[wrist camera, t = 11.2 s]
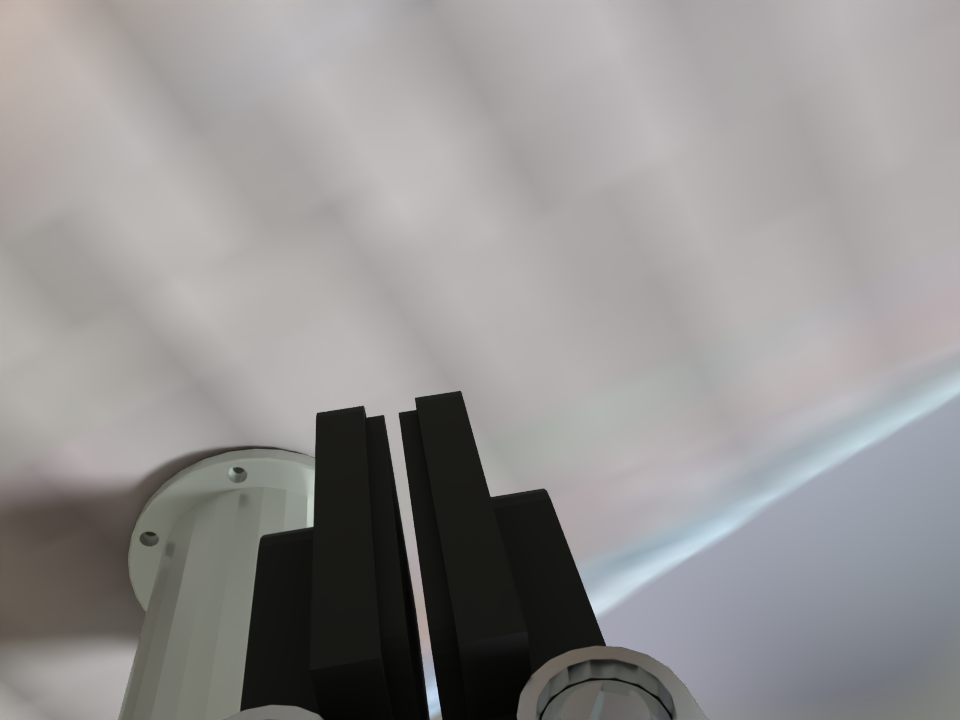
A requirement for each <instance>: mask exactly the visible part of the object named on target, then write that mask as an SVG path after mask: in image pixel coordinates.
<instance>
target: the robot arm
mask: <svg viewBox="0 0 960 720" xmlns="http://www.w3.org/2000/svg"><path fill="white" fill-rule="evenodd" d="M415 402H416V409H417V410H413V411H407V412H401V413H399V419H400V426H401V433H402V441H403V448H404V455H405V462H406V469H407V477H408V484H409V491H410V498H411V506H412V513H413V520H414V527H415V534H416V542H417V549H418V556H419V563H420V571H421V578H422V585H423V592H424V599H425V607H426V614H427V621H428V628H429V635H430V642H431V649H432V655H433V662H434V669H435V675H436V682H437V688H438V694H439V701H440V707H441V713H442V720H709V719H708V718H707V717H706V715H705V714H704V712H703V711H702V709H701V708H700V706H699V705H698V703H697V702H696V700H695V699H694V698H693V696H692V694H691V693H690V691H689V690H688V689H687V687H686V686H685V685H684V683H683V682H682V681H681V680H680V679H679V678H678V677H677V676H676V675H675V674H674V673H673V672H672V671H671V669H669V667H667V666H665V665H663V664H662V663H660V662H659V661H657V660H655V659H654V658H652V657H650V656H649V655H646V654H643V653H640V652H636V651H633V650H630V649H627V648H623V647H611V646H610V647H609V646H606V644H605V642H604V639H603V636H602V634H601V631H600V629H599V626H598V623H597V620H596V618H595V615H594V612H593V610H592V607H591V605H590V602H589V599H588V597H587V594H586V591H585V589H584V586H583V583H582V581H581V578H580V576H579V573H578V570H577V568H576V565H575V562H574V560H573V557H572V554H571V552H570V549H569V546H568V544H567V541H566V539H565V536H564V533H563V531H562V528H561V525H560V523H559V520H558V517H557V515H556V512H555V509H554V507H553V504H552V502H551V499H550V497H549V495H548V492H547V491H546V490H545V489H538V490H532V491H526V492H520V493H514V494H508V495H502V496H496V497H490V494H489V490H488V487H487V483H486V479H485V476H484V472H483V469H482V465H481V461H480V458H479V454H478V450H477V447H476V443H475V440H474V436H473V432H472V429H471V425H470V421H469V418H468V414H467V411H466V407H465V403H464V400H463V396H462V393H461V391H457V392H450V393H444V394H437V395H431V396H424V397H418V398H415ZM236 467H241V468H236ZM128 568H129V578H130V581H131V584H132V587H133V590H134V593H135V596H136V598H137V600H138V601H139V603H140V604H141V606H142V607H143V609H144V611H145V612H146V615H145V619H144V623H143V627H142V631H141V634H140V638H139V642H138V646H137V650H136V653H135V657H134V661H133V665H132V669H131V672H130V676H129V680H128V684H127V688H126V691H125V695H124V699H123V703H122V707H121V710H120V714H119V718H118V720H430V719H429V711H428V703H427V695H426V686H425V678H424V670H423V662H422V654H421V646H420V638H419V630H418V622H417V615H416V608H415V601H414V595H413V589H412V582H411V576H410V570H409V564H408V558H407V552H406V546H405V540H404V534H403V527H402V521H401V515H400V509H399V503H398V497H397V491H396V485H395V479H394V473H393V466H392V460H391V454H390V448H389V442H388V436H387V430H386V424H385V418H384V415H381V416H375V417H368V418H366V413H365V408H364V406H359V407H353V408H346V409H340V410H333V411H327V412H320V413H317V416H316V447H315V458H312V457H309V456H307V455H303V454H298V453H293V452H289V451H284V450H271V449H249V450H240V451H232V452H227V453H223V454H220V455H216V456H213V457H209V458H206V459H203V460H201V461H199V462H197V463H195V464H193V465H191V466H189V467H187V468H185V469H182V470H181V471H180V472H178V473H177V474H176V475H174V476H173V477H172V478H170V479H169V480H167V481H166V482H165V483H163V484H162V486H161V487H160V488H159V489H158V490H157V491H156V492H155V493H154V494H153V495H152V496H151V498H150V499H149V500H148V501H147V503H146V505H145V507H144V508H143V510H142V512H141V514H140V515H139V517H138V519H137V522H136V525H135V528H134V531H133V533H132V537H131V541H130V547H129V553H128Z"/></svg>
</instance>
